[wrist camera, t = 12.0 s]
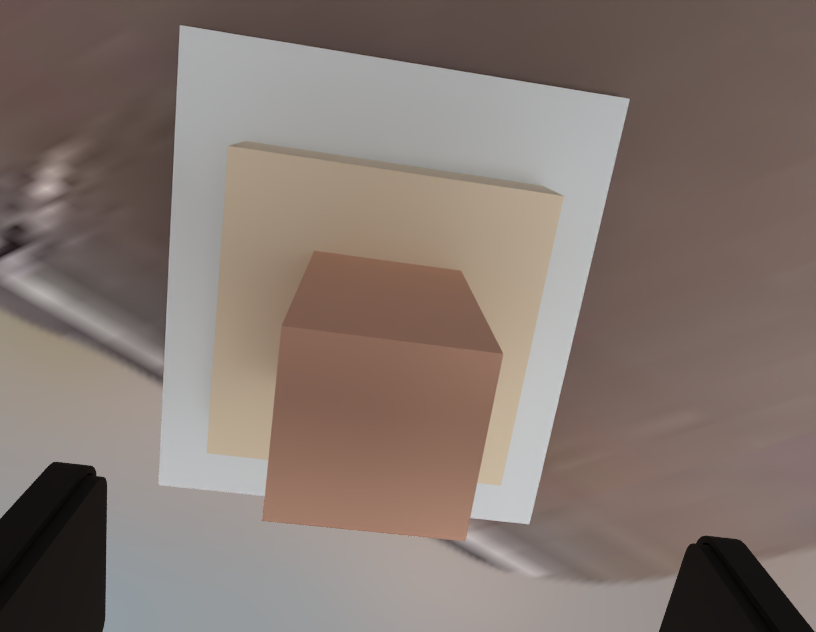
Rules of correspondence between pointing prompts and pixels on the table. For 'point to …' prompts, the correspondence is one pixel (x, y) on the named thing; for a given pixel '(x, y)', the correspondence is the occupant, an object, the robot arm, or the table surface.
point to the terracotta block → (381, 399)
